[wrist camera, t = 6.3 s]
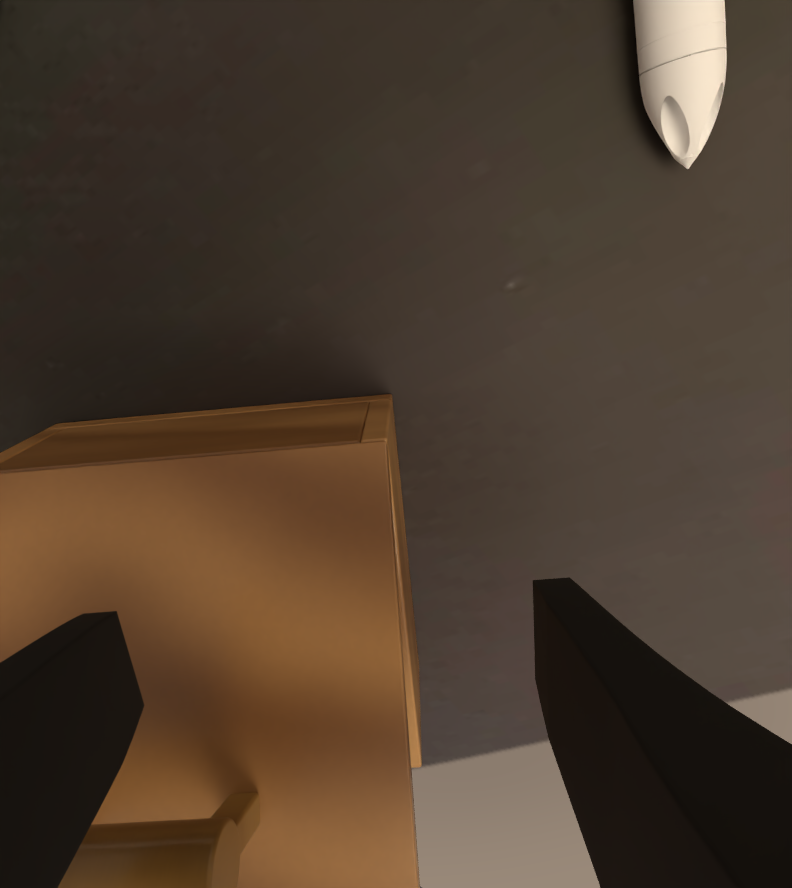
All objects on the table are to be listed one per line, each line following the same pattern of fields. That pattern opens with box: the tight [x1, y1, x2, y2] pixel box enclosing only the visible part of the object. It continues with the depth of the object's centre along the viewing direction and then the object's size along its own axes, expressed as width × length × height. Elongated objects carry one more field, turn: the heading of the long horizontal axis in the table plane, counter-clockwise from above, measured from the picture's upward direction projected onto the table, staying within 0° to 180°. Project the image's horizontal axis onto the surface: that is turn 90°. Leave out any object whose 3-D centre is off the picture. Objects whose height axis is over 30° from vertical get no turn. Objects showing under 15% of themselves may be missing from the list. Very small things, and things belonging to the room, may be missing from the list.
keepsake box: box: [0, 394, 422, 768], centre depth 19 cm, size 11×11×5 cm
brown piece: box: [0, 441, 420, 888], centre depth 12 cm, size 12×11×4 cm
